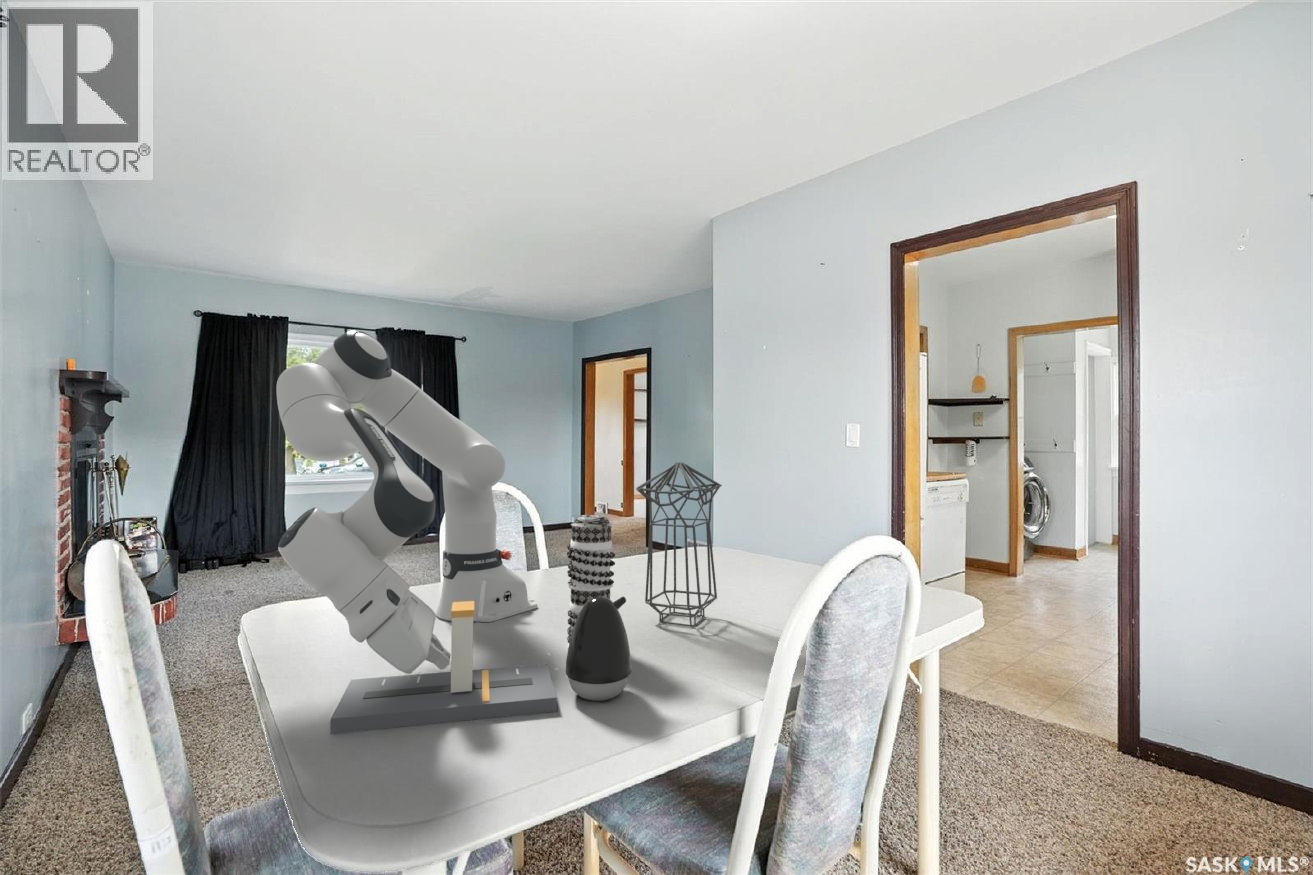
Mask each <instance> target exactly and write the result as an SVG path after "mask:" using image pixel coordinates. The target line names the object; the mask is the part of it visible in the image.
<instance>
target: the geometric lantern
mask: <svg viewBox="0 0 1313 875" xmlns="http://www.w3.org/2000/svg"><path fill="white" fill-rule="evenodd" d="M679 470H680V471H681V474H682V476H683V478H684V480H685V484H686V485H681V484H675V481H676V479H677V475H678V471H679ZM697 475H698V476H697ZM699 476H700V477H701V478H703V479H705V480H706V481H708V482H709V483H707V484H705V482H704V481H702V479H701V478H699ZM659 477H660V478H659ZM657 478H659V479H657ZM656 479H657V480H656ZM690 479H691V480H692V481H693V482H694V484H695V485H696V486H693V483H692V482H691V480H690ZM654 480H656V482H654V483H653V484H652V485H651V486H650V487H649V488H646V486H649V485H648V484H650V483H652V482H653V481H654ZM670 482H671V483H670ZM710 482H711V483H710ZM665 486H667V487H668V488H669V490H663V489H664V488H665ZM722 486H723V485H722V484H720V483H719V482H717V481H715V480H714V479H711V477H708V476H707V475H705V474H703V473H701V472H700V471H698V470H696V469H694V468H693V467H691V466H689V465H688V464H686V463H685V462H682V461H680V462H678V461H677V462H675V463H674V464H672V465H670V466H668V467H667V468H666V469H664V470H663V471H661V472H660V473H658V474H656V475H655V476H653V477H652V478H650V479H648V480H646V481H645V482H643V483H642V484H640V485H638V486H636V488H635V490H636V491H637V492H638V493H639V494H640V495H642V496H643V497H644V498H645V499H646V500H648V502H649V527H648V528H649V529H648V543H647V544H648V546H647V561H646V562H647V563H646V576H645V577H646V581H645V583H646V584H645V597H644V602H645V604H647V605H648V606H649V607H651V608H652V609H653V610H654V611H655V612H657V613H658V614H659V616H658V622H660V623H662V624H669V625H677V626H685V627H689V628H690V627H691V628H692V627H697V625H698V623H699V624H700V623H701V622H703V620H704V618H705V619H706V615H705V609H706V608H707V607H708V606H710V605H711V604H712V603H713V602H714V601H716V600H717V599H718V593H717V591H718V590H717V583H716V582H717V581H716V573H715V562H714V553H713V545H712V544H713V542H712V531H711V521H712V520H711V519H712V502H713V498H714V497H715V495H716V494H717V493H718V491H719V489H720V488H721V487H722ZM644 487H645V488H644ZM677 488H682V490H679V489H677ZM646 492H647V493H646ZM693 492H698V497H691V493H693ZM709 492H710V496H709V498H708V493H709ZM651 493H654V498H653V497H652V496H651ZM660 494H663V495H664V494H667V496H668V501H669V502H668V503H667V502H666V503H665V502H664V503H661V501H660ZM674 494H675V495H676V494H679V495H680V496H679V497H678V498H676V499H674V500H673V501H672V498H671V495H674ZM703 497H704V498H703ZM684 498H685V499H684ZM682 499H684V500H683V503H682V504H681V506H680V507H679V509H678V508H677V507H676V505H675V504H676V503H677V502H679V501H681V500H682ZM704 499H705V500H704ZM688 500H691V501H696V502H697V503H698V506H699V507H700V508H699V510H698V512H697V513H696V517H695V518H689V517H688V518H685V517H682V515H681V511H682V510H683V508H684V507H685V505H686V502H687V501H688ZM652 503H654V504H655V505H657V506H658V507H657V508H656V509H657V510H656V512H655V514H654V517H653V507H652ZM705 505H708V517H707V516H706V513H705V511H704V508H703V506H705ZM667 506H669V507H670V506H672V508H673V509H674V511H675V513H676V514H675V516H674V517H669V516H668V514H667V513H666V511H665V509H664V507H667ZM660 509H661V510H662V512H663V513H664V515H665V518H661V519H659V520H655V519H656V517H657V514H658V513H659V510H660ZM701 512H702V514H703V516H704V517H705V518H698V517H699V515H700V513H701ZM654 520H655V521H654ZM678 520H679V521H681V522H682V524H677V521H678ZM663 521H665V523H659V522H663ZM669 521H673V524H669ZM686 521H692V522H693V523H692V524H691V525H690V524H687V522H686ZM696 521H702V522H701V523H696ZM695 523H696V524H695ZM683 524H684V525H683ZM694 524H695V525H694ZM701 525H706V550H707V552H706V553H707V573H708V575H707V576H708V592H701V588H700V587H701V586H700V577H699V576H700V575H699V574H700V573H699V561H698V550H697V547H698V546H697V537H696V527H699V526H701ZM653 526H657V527H659V526H661V527H665V535H664V536H665V543H664V567H663V568H664V569H663V587H662V588H663V589H662V591H661V592H659V593H657V594H656V595H653V537H654V536H653V535H654V534H653V533H654V532H653V528H654V527H653ZM669 527H673V589H671V590H666V587H667V569H668V566H667V565H668V540H669V539H668V537H669ZM677 528H683V529H684V555H685V556H684V557H685V558H684V559H685V560H684V562H685V584H686V590H679V589H677ZM691 528H692V538H693V541H692V542H693V550H694V563H695V565H694V566H695V575H696V576H695V577H696V588H697V589H696V591H690V580H689V577H690V576H689V554H688V550H689V549H688V531H687V530H688V529H691ZM711 572H712V574H711ZM712 583H713V593H712ZM669 593H671V594H673V601H672V602H673V603H671V601H670V599H669V597H668V594H669ZM676 593H678V594H686V604H679V603H677V604H676ZM662 595H664V596H665V599H666V600H667V603H668V604H664V603H663V604H662V603H656V602H653V600H656V598H657V599H658V597H660V596H662ZM690 595H697V600H698V601H697V602H698V605H694V604H693V605H691V604H690ZM701 595H702V596H707V597H706V599H705V600H704V602H703V603H702V600H701V598H702V597H701ZM710 597H712V598H710ZM709 598H710V599H709ZM658 607H662V608H663V609H662V610H660V609H659V608H658ZM667 609H668V610H669V612H664V611H666V610H667ZM672 609H673V611H672ZM676 609H677V610H684V611H689V613H688V612H681V611H680V612H679V611H676ZM693 610H696V611H695V612H694V613H692V611H693ZM684 614H689V615H684ZM696 615H697V616H696ZM668 616H674V617H681V618H682V617H683V618H689V624H686V623H679V622H673V621H664V620H665V619H666V618H668ZM700 616H702V617H701V619H700V620H698V621H697V617H700ZM692 618H693V624H692Z"/></svg>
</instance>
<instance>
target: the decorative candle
mask: <svg viewBox="0 0 1313 875" xmlns="http://www.w3.org/2000/svg"><path fill="white" fill-rule="evenodd" d="M570 526H571V539H570V544H569V545H567V546H566V548H567V550H568V551H567V552H566V556H567V558H568V559H570V560H568V562H567V568H568V569H569V570H567V572H566V573H567V577H568V578H569V580H568V581H567V584H568V588H569V589H570V601H569V610H568V611H567V616H568V617H569V618H568V619H567V624H568V625H569V626H568V627H567V630H566V631H567V637H566V641H567V643H568V644H567V648H568V647H569V642H570V638H571V635H572V631H573V628H574V625H575V622H576V620H577V617H578V615H579V613H580V611H581V609H582V608H583V606H584V605H585V603H586V602H587V601H588V600H590V599H592V598H594V597H599V596H601V597H606V598H608V599H610V600H611V588H612V587H614V583H615V581H614V580H613V579H612V578H613V576H614V575H615V573H614V571H612V570H611V568H612V567H613V566H615V565H616V562H615V561H613V558H615V557H616V553H614V552H613V551H611V549H612V548H613V540H612V526H614V523H611V522H610V520H609V518H608V517H607V516H605V515H602V514H583V515H578V516H577V517H576V518H575V520H574V521H573V522H572V523H570Z"/></svg>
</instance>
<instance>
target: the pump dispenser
mask: <svg viewBox="0 0 1313 875" xmlns="http://www.w3.org/2000/svg"><path fill="white" fill-rule="evenodd" d="M626 602H627V598H626V597H624V596H621V597H619V598H618V599H616V600H615V601H612V600H611V598H610V599H608V598H606V597H601V596H599V597H594V598H592V599H590V600H588V601H587V602H586V603H585V605H584V606H583V608H582V609H581V611H580V613H579V615H578V617H577V620H576V622H575V625H574V628H573V631H572V635H571V638H570V642H569V643H568V644H569V647H568V646H567V652H566V653H567V655H566V660H565V674H566V677H567V678H568V683H569V684H570V688H571V689H572V690H573V692H574V693H575V694H576V695H578V696H579V697H581V698H583V699H585V700H587V701H593V702H600V701H608V700H611V699H612V698H615V697H617V696H618V695H619V694H620V693H621V692H622V691H623V690H624V689H625V687H626V684H627V683H628V679H629V677H630V675H631V673H632V659H631V658H632V657H631V649H630V644H629V639H628V635H627V631H626V628H625V624H624V621H623V618H622V615H621V614H620V611H619V609H620V608H621V607H622V606H624V605H625V604H626Z"/></svg>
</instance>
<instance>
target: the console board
mask: <svg viewBox="0 0 1313 875" xmlns="http://www.w3.org/2000/svg"><path fill="white" fill-rule="evenodd" d="M552 680H553V679H552V676H551V672H550V670H549V666H548V664H547V663H544V664H532V665H530V664H529V665H520V666H518V665H517V666H505V667H494V668H482V669H481V668H479V669H472V691H465V692H454V693H451V671H445V672H443V671H442V672H433V673H418V674H405V675H394V676H393V675H392V676H380V677H369V678H353V679H350V681H349V682H348V685H347V687H346V689H345V690H344V693H343V695H342V697H341V698H340V700H339V702H338V704H337V706H336V708H335V710H334V711H333V713H332V715H331V717H330V728H329V729H330V731H329V732H330V734H331V735H332V734H340V733H341V734H342V733H349V732H350V733H351V732H360V731H363V732H364V731H371V730H380V729H381V730H383V729H391V728H401V727H410V726H421V725H430V724H431V725H432V724H441V723H452V722H453V723H454V722H461V721H462V722H463V721H470V720H471V721H472V720H480V719H482V720H483V719H491V718H492V719H494V718H501V717H502V718H503V717H510V716H513V717H514V716H522V715H533V714H540V713H543V714H544V713H551V712H553V713H554V712H557V710H558V709H557V706H558V704H557V703H558V696H557V693H556V690H555V687H554V682H553V681H552Z"/></svg>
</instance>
